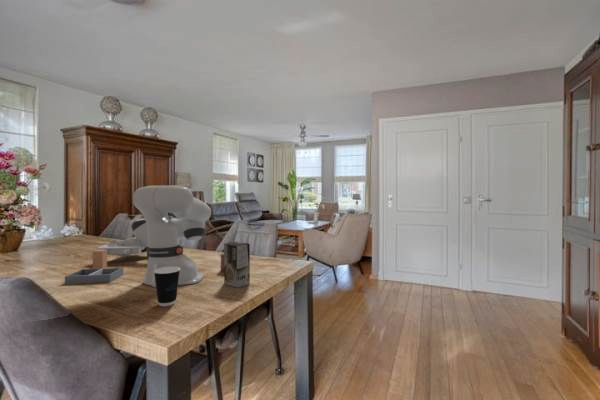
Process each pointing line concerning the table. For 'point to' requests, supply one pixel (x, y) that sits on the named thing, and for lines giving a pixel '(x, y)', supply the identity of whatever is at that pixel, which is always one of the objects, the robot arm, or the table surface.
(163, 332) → the table surface
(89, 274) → the organiser
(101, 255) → the block
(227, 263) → the coffee box
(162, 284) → the dixie cup
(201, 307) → the table surface
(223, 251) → the lighter
